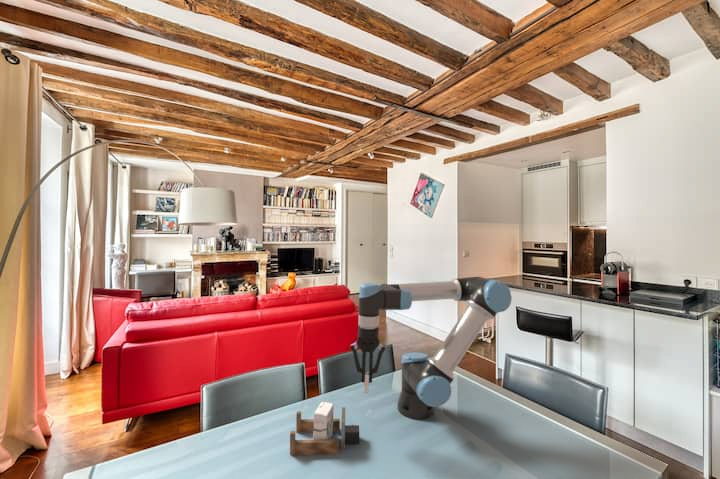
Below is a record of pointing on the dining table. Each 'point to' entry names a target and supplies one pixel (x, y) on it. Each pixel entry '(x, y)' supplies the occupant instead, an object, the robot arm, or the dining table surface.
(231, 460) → the dining table surface
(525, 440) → the dining table surface
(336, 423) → the chute
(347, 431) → the grey stepped bracket
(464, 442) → the dining table surface
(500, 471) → the dining table surface
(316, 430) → the ink box
